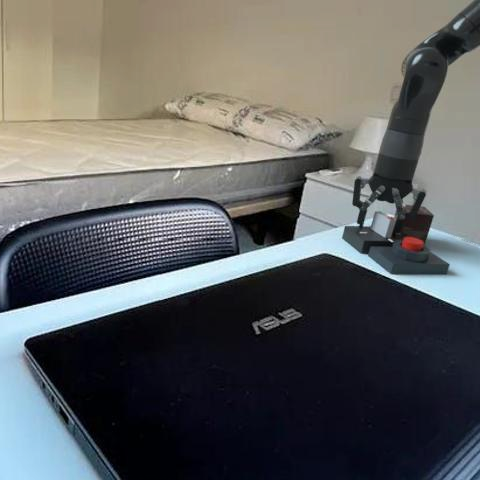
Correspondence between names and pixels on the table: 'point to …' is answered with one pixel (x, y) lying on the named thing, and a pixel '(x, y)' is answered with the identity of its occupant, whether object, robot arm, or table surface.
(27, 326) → the table surface
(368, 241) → the panel
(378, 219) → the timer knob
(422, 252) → the button block
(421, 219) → the box
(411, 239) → the power button
